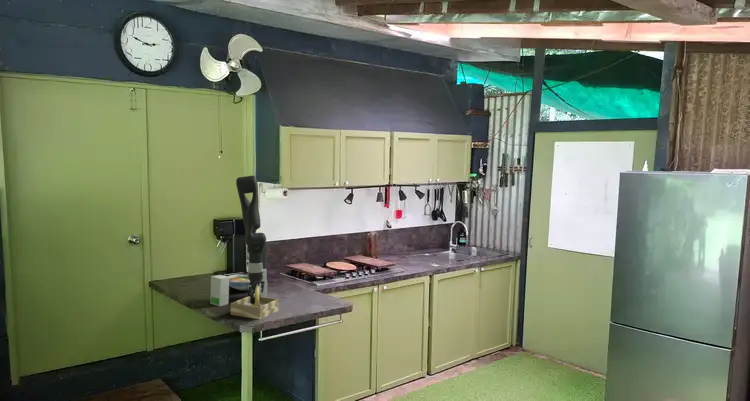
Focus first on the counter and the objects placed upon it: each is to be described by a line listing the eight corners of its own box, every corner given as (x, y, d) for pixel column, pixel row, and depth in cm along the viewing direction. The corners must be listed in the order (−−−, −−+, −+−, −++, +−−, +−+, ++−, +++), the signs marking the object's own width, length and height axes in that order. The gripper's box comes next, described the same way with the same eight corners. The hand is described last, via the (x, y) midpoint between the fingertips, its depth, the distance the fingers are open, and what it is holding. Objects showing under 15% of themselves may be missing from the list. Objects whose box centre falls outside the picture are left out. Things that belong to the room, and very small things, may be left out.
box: (251, 306, 286) (251, 295, 286) (279, 310, 280) (279, 299, 279) (230, 314, 270) (230, 303, 269) (260, 319, 263) (260, 307, 263)
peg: (254, 307, 277) (254, 284, 276) (260, 308, 276) (260, 285, 275) (250, 309, 274) (250, 286, 273) (256, 310, 272) (256, 287, 271)
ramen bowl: (215, 290, 319) (215, 277, 318) (241, 283, 339) (241, 270, 338) (246, 296, 307) (246, 282, 306) (271, 288, 327) (271, 275, 327)
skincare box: (210, 304, 289) (209, 276, 288) (219, 301, 295) (219, 274, 293) (220, 306, 284) (220, 278, 283) (229, 303, 290) (229, 276, 289)
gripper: (257, 267, 281) (257, 298, 282) (241, 272, 268) (241, 305, 269) (269, 268, 278) (269, 300, 280) (253, 274, 265) (253, 307, 266)
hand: (255, 302), depth 274 cm, fingers open, 4 cm apart
